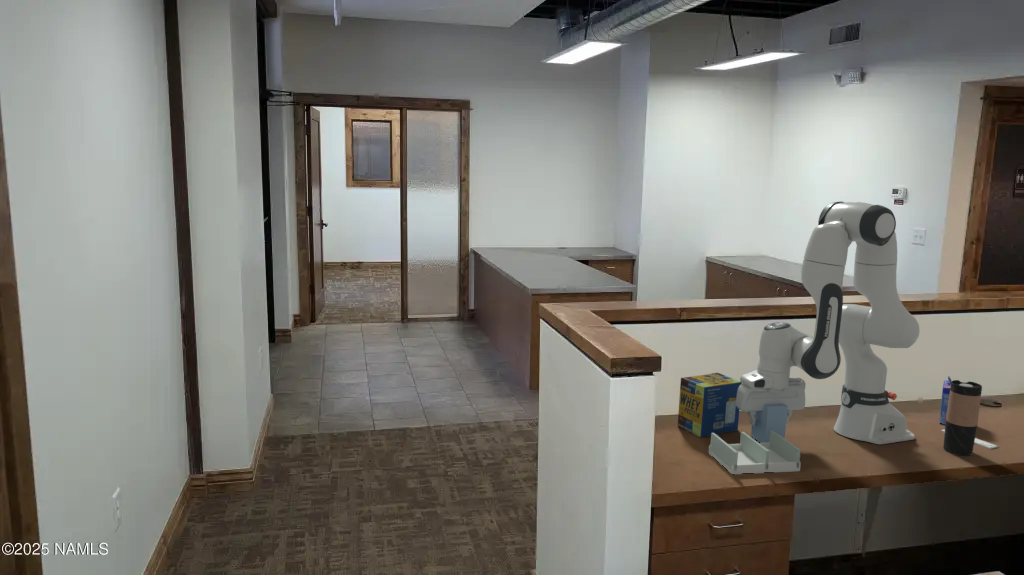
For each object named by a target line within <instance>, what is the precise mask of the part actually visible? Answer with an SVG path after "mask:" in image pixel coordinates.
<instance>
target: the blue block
mask: <svg viewBox="0 0 1024 575" xmlns="http://www.w3.org/2000/svg"><path fill="white" fill-rule="evenodd" d="M787 408H788V406H787V405H785V404H764V411H756V412H755V415H754V417H755V418H756V419H757V420H758V425H755V426H752V425H751V430H750V432H751V433H750V437H751V438H752V437H753V439H754V440H755V439H756V440H758V441H759V442H760V443H767V442H769V437H770V431H772V430H773V431H774V432H776V433H777V434H779V435H780V436H781V437H783V438H784V439H786V429H787V428H786V427H787V424H786V419H787ZM758 441H757V442H758ZM759 442H758V443H759Z"/></svg>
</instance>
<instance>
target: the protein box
mask: <svg viewBox="0 0 1024 575" xmlns="http://www.w3.org/2000/svg"><path fill="white" fill-rule="evenodd" d="M741 384H742V382H741V381H740V380H737V379H735V378H733V377H730V376H727V375H725V374H722V373H720V372H712V373H706V374H701V375H700V374H699V375H694V376H693V375H691V376H686V377H680V386H679V399H678V400H679V401H678V412H677V413H678V415H677V416H678V417H677V427H678V428H679V427H680V428H682V429H683V430H686V431H687V432H689V433H691V434H693V435H695V436H697V437H699V438H704V437H709V436H711V433H715V434H716V435H720V434H725V433H729V432H734V431H738V430H739V422H740V421H739V418H740V411H741V410H740V409H738V408H737V406H736V397H737V391H738V388H739V386H740V385H741Z"/></svg>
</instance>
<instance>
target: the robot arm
mask: <svg viewBox="0 0 1024 575" xmlns="http://www.w3.org/2000/svg"><path fill="white" fill-rule="evenodd" d="M817 222H818V224H817V225H816V227H815V228H813V231H812V233H811V235H810V237H809V240H808V242H807V244H806V245H807V246H806V248H805V252H804V256H803V261H802V263H801V264H802V266H801V271H800V273H801V277H800V280H801V283H802V285H803V287H804V288H805V289H806V291H807V292H808V293H809V295H810V296H811V297H812V300H813V301H814V303H815V308H816V318H815V325H814V331H813V333H814V335H813V336H812V335H811V334H807V333H804V332H802V331H800V330H798V329H797V328H795V327H793V326H792V325H791V324H790V323H787V322H779V321H777V322H771V323H768V324H766V325H765V326H764V327H763V329H762V331H761V335H760V340H759V346H758V355H759V361H758V364H757V369H754V370H753V371H752V370H751V371H750V372H747V373H744V374H741V375H740V379H739V381H740V382H742V384H741V385H740V386H739V388H738V391H737V397H736V406H737V408H738V409H740V410H739V411H741V412H743V413H745V412H746V413H747V415H748V417H749V419H750V420H749V422H750V423H749V424H750V426H751V427H752V426H755V425H758V420H757V419H756V418H755V417H754V415H755V412H756V411H764V404H785V405H787V406H788V408H787V419H786V425H788V423H789V420H790V418H791V416H793V411H800V410H803V409H805V407H806V391H805V390H806V381H805V380H804V379H802V378H801V377H790V374H791V368H792V367H797V368H799V369H800V370H802V371H804V372H805V373H806V374H807V375H808V376H810V377H811V378H813V379H815V380H825V379H827V378H830V377H832V376H833V375H834V374H835V373H837V371H838V370H839V368H840V366H841V361H842V359H841V352H840V347H841V349H842V352H843V355H844V360H845V370H844V371H845V372H844V383H843V385H842V386H841V387H842V389H841V396H840V398H841V404H840V408H839V409H840V410H839V412H838V417H837V419H836V422H835V424H834V427H833V430H834V431H835V433H837V434H839V435H841V436H843V437H846V438H848V439H849V438H850V439H852V440H857V441H862V442H863V441H864V442H868V443H872V444H876V445H886V444H891V443H897V442H898V443H899V442H906V441H911V440H915V438H916V437H915V436H916V435H915V434H914V433H913V432H912V431H910V430H909V429H907V425H908V424H907V419H906V417H905V415H904V414H903V413H902V412H901V411H899V410H898V409H897V407H895V406H894V405H892V404H891V403H890V400H889V399H891V400H892V401H896V399H897V398H898V395H897V393H894V392H892V391H888V390H886V383H887V375H888V367H887V365H886V362H885V361H884V360H883V359H882V358H881V357H879V356H877V355H876V353H874V351H873V349H872V347H871V345H873V346H878V347H883V348H888V349H889V348H890V349H908V348H910V347H912V346H913V345H914V344H915V343H916V342H917V341H918V339H919V337H920V336H919V335H920V331H921V330H920V324H919V322H918V320H917V318H916V317H915V316H914V315H912V313H910V312H909V310H907V309H906V308H905V306H904V304H903V303H902V301H901V298H900V296H899V293H898V288H897V270H898V269H897V268H898V267H897V266H898V241H897V234H896V227H897V220H896V217H895V214H894V212H893V211H892V210H891V209H890V208H888V207H886V206H884V205H880V204H872V203H868V202H861V201H857V202H854V201H853V202H852V201H851V202H849V201H848V202H846V201H835V202H834V201H833V202H830V203H828V204H826V205H825V206H824V208H823V209H822V210H821V212H820V214H819V217H818V221H817ZM853 242H855V244H856V249H855V253H854V254H855V255H854V264H853V266H854V267H853V286H854V289H855V290H856V292H858V293H859V294H860V295H862V296H863V297H864V298H866V300H867V301H868V302H869V304H870V306H868V305H860V304H856V303H844V292H843V286H844V285H843V283H844V275H845V270H846V266H847V260H848V251H849V247H850V246H851V245H852V243H853ZM839 345H840V347H839Z"/></svg>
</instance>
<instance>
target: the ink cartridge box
mask: <svg viewBox="0 0 1024 575" xmlns="http://www.w3.org/2000/svg"><path fill="white" fill-rule="evenodd" d="M952 381H953V380H952V379H951V376H949V375H948V376H947V380H943V385H942V389H941V390H942V391H941V400H940V402H941V403H940V409H939V410H940V412H939V422H940V423H942V424H941V425H945V424H946V415H947V408H948V401H949V394H950V387H951V382H952ZM940 423H939V424H940Z"/></svg>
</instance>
